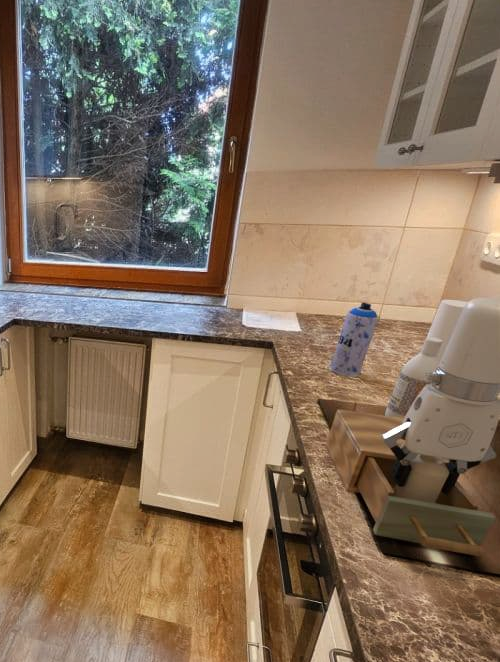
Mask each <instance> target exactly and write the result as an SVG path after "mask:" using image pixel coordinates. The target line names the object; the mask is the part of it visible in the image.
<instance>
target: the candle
mask: <svg viewBox="0 0 500 662" xmlns="http://www.w3.org/2000/svg"><path fill="white" fill-rule="evenodd" d="M410 465H411V467H412V469H411V472H410V474H409V476H408V478H407V481H406V483H405V485H404V486H403V487H400V486H398V485H397V484H396V486H395V488H394V490H393V491H394V492H395V494H394V496H393V497H399V498H405V499H411V500H417V501H423V502H429V503H435V502H436V499H437V497H438V495H439V493H440V491H441V489H442V487H443V485H444V483H445V481H446V479H447V477H448V475H449V470H448V468H447V467H446V465H445V463H444V461H443V460H442V459H438V458H435V457H432V456H426V455H420V454H419V455H418V456H417V457H416V458H415V459H414V460H413V461H412V462H411V463H410Z"/></svg>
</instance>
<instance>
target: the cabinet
mask: <svg viewBox="0 0 500 662" xmlns="http://www.w3.org/2000/svg"><path fill="white" fill-rule="evenodd" d="M335 412H336V413H335V415H334V418H333V421H332V424H331V428H330V430H329V433H328V436H327V439H326V443H325V448H326V450H327V452H328V455H329V457H330V459H331V461H332V463H333V465H334V468H335V469H336V472H337V474H338V476H339V478H340V479H341V482H342V485H343V486H344V489H345V491H346V492H350V493H357V494H361V493H360V491H359V489H358V487H357V485H356V483H355V482H356V480H357V477H358V474H359V472H360V469H361V467H362V464H363V461H364V459H365V456H366V455H367V456H373V457H380V458H387V459H393V460H396V459H397V457H396V456H395V455H394V453H393V452H392V451H391V450H390V449H389V447H388V446H387V445H386V444H385V443H384V442H383V440H382V439H381V436H382V435H384V434H386V433H387V432H389V431H391V430H393V429H395V428H397V427H399V426H401V425H402V422H403V420H404V418H399V417H392V416H385V414H377V413H376V414H375V413H367V412H361V411H354V410H345V409H337V410H336V411H335ZM404 442H405V440H402V439H399V440H397V441H396V443H397V444H398V446H399V447H400V446H401V445H402V444H403V443H404ZM435 458H438V459H442V460H443V461H444V463H449V459H446V458H439V457H435Z"/></svg>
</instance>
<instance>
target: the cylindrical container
mask: <svg viewBox="0 0 500 662" xmlns="http://www.w3.org/2000/svg"><path fill="white" fill-rule="evenodd" d="M468 302H469V301H464V300H459V299H458V300H457V299H442V300H441V301H440V303H439V306H438V308H437V311H436V314H435V315H434V319H433V320H432V323H431V326H430V328H429V331H428V333H427V334H426V335H427V336H426V338H427V337H433V338H438V339H441V340H442V341H443V342H442V344H441V347H440V349H439V351H438V354H437V356H436V357H437V360H438V363H439V364H440V361H441V359H442V357H443V354H444V352H445V350H446V347H447V345H448V343H449V340H450V338H451V335H452V333H453V331H454V328H455V326H456V324H457V321H458V319H459V317H460V314H461V312H462V310H463V308H464V306H465V305H466V304H467V303H468Z"/></svg>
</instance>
